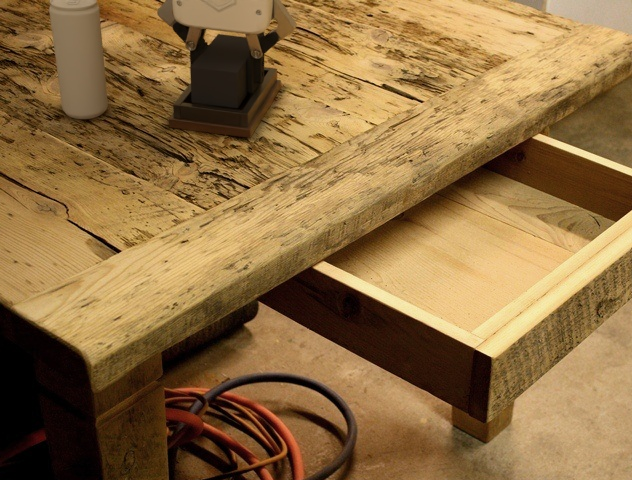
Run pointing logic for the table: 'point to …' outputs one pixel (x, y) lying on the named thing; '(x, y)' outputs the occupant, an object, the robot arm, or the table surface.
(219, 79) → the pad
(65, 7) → the beverage can
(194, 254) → the table surface
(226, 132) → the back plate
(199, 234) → the table surface
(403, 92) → the table surface
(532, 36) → the table surface
